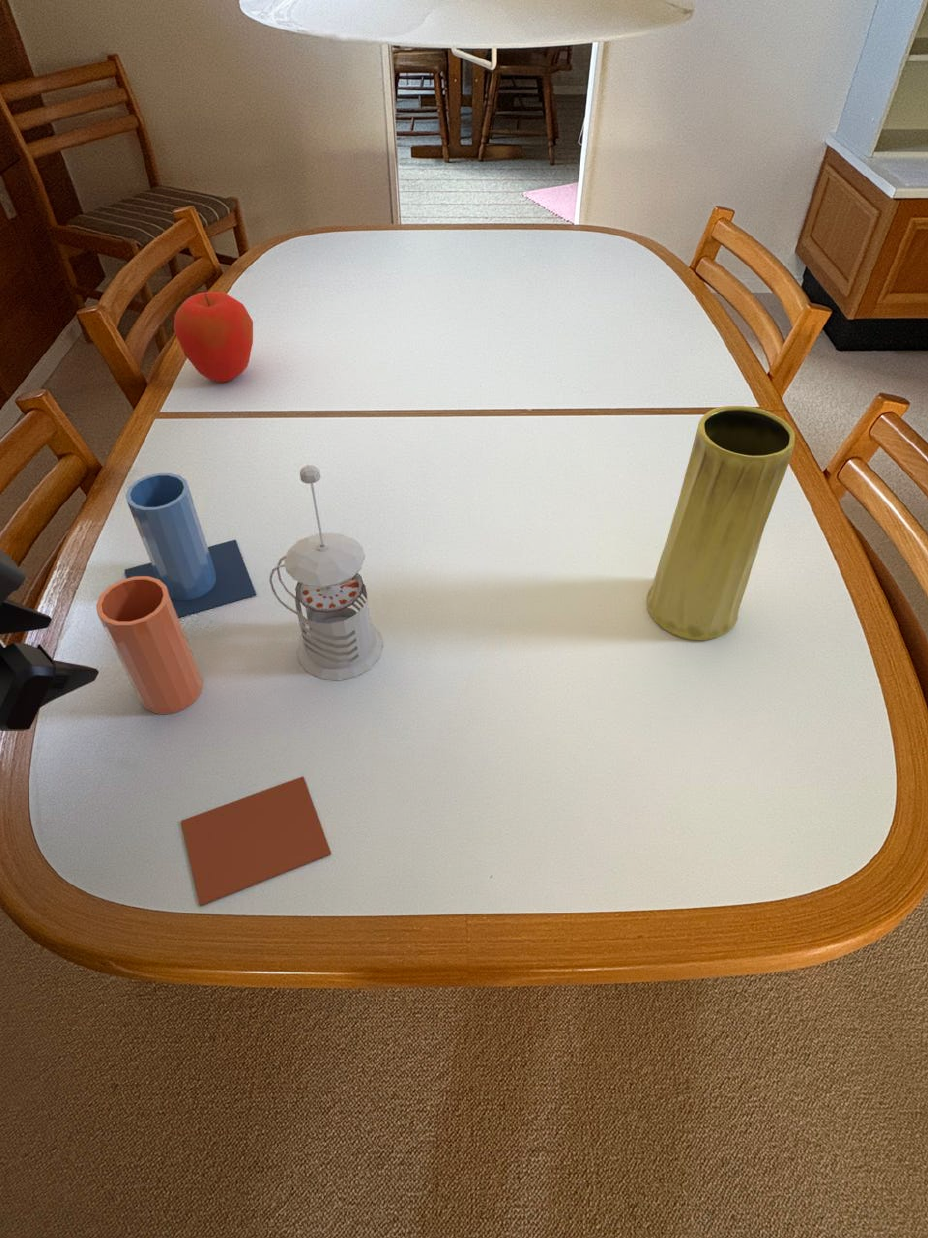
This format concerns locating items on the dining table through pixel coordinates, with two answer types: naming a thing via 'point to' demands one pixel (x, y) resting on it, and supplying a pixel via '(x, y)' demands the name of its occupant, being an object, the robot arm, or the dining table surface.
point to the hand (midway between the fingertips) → (72, 647)
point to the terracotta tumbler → (150, 643)
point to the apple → (215, 335)
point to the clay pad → (253, 840)
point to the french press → (330, 601)
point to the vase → (719, 520)
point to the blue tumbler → (172, 534)
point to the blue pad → (227, 587)
